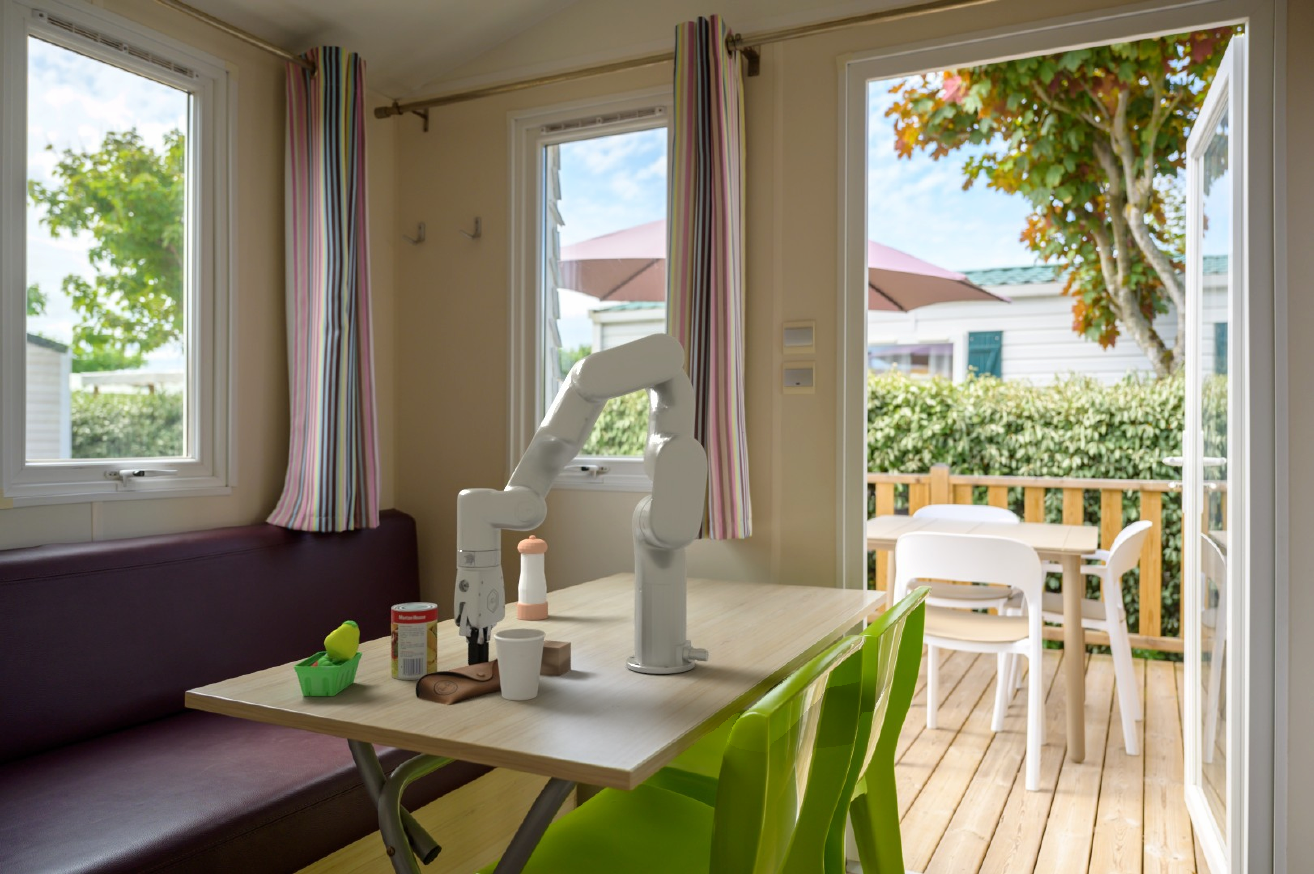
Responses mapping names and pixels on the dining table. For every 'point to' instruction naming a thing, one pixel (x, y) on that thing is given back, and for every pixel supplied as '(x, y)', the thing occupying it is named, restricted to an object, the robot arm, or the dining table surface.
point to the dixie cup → (519, 662)
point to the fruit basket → (331, 663)
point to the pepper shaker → (532, 580)
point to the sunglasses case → (460, 683)
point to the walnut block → (555, 658)
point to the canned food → (413, 640)
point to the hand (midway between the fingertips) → (478, 664)
